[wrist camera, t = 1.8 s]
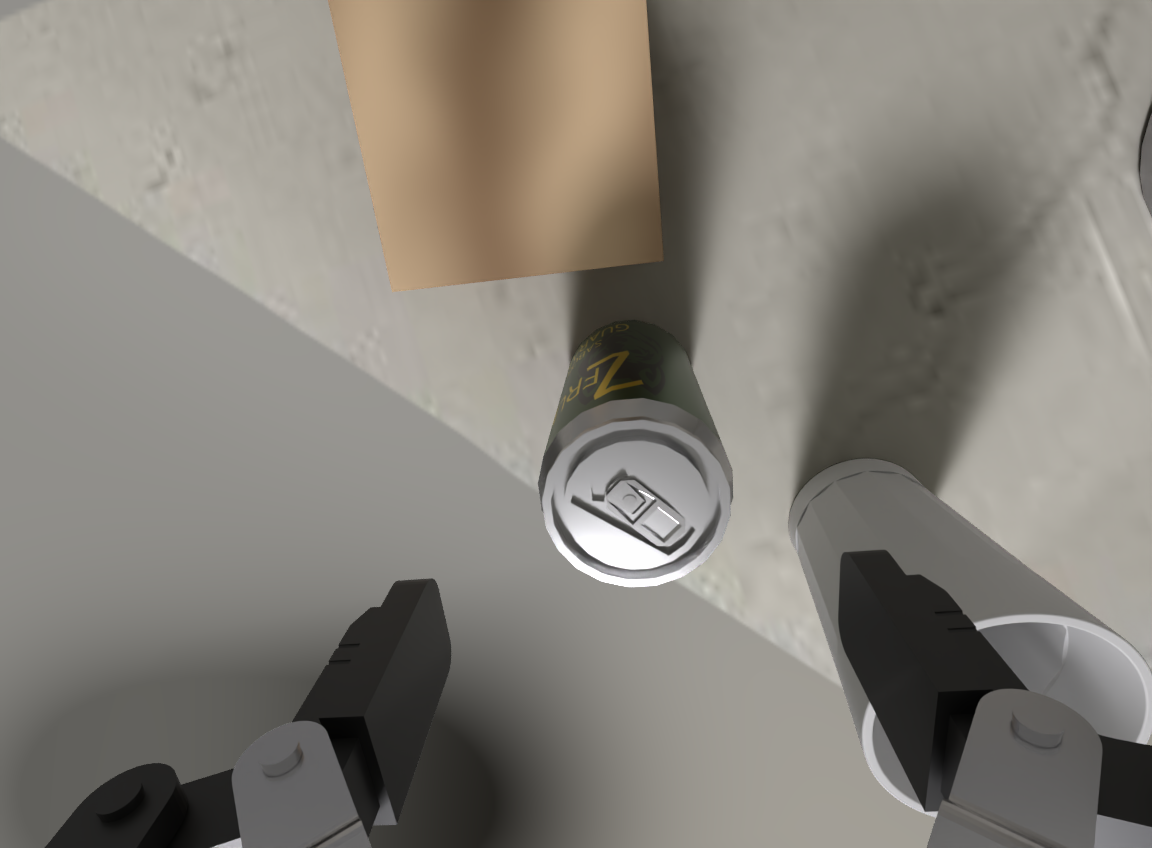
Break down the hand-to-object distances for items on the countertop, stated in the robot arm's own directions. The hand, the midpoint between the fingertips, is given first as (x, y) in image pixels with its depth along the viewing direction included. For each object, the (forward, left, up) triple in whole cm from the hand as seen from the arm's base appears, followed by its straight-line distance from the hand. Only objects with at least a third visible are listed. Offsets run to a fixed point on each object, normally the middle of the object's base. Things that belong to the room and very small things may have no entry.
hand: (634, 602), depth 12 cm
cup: (-10, +8, -16) cm, 21 cm away
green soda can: (0, 0, -16) cm, 16 cm away
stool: (+3, -10, -16) cm, 19 cm away
